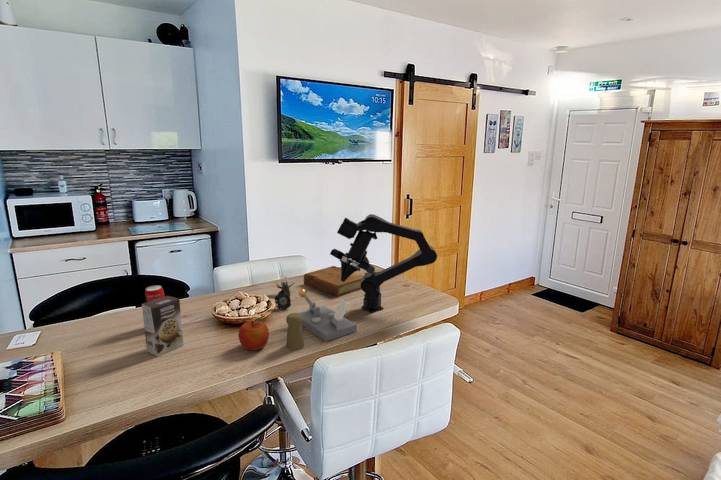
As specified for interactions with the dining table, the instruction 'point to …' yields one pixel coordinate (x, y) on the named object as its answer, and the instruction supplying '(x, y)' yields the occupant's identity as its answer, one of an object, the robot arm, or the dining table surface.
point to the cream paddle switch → (340, 311)
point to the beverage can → (154, 292)
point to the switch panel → (326, 323)
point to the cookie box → (162, 325)
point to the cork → (294, 332)
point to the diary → (333, 281)
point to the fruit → (253, 334)
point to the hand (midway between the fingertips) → (342, 281)
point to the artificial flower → (283, 295)
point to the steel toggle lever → (306, 298)
